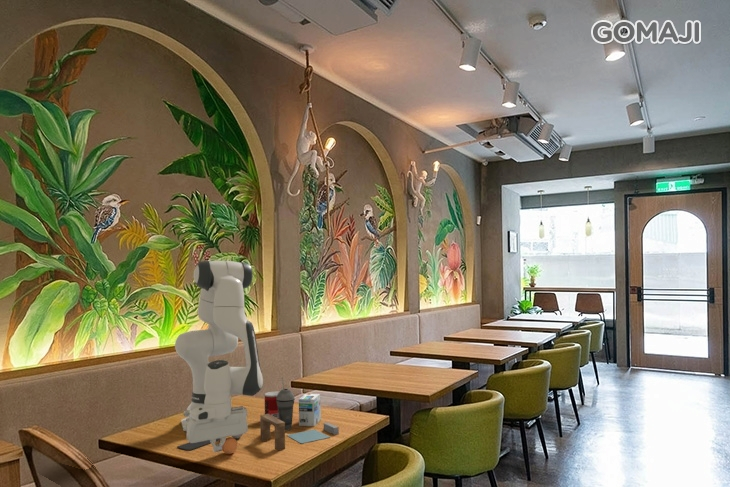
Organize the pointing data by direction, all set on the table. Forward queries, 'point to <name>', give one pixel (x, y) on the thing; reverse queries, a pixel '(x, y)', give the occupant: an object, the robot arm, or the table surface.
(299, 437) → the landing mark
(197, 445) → the phone
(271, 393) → the canned food
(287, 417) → the beverage cup
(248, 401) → the table surface
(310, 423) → the light bulb box
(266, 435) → the bridge
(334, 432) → the wall
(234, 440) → the ball
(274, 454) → the table surface
